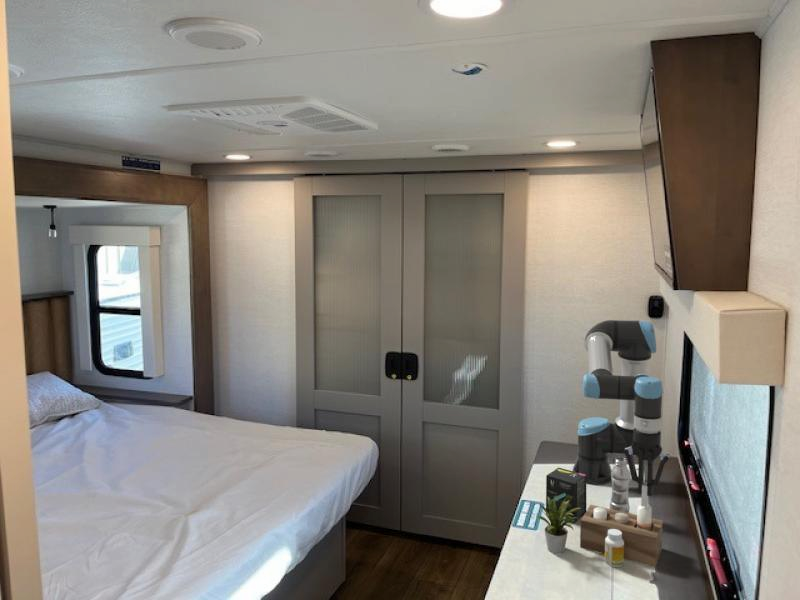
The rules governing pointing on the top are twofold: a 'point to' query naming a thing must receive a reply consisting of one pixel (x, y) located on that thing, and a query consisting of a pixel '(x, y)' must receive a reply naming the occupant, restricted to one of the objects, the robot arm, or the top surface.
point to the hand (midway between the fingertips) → (644, 504)
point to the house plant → (557, 526)
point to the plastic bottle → (620, 486)
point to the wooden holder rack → (636, 541)
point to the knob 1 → (600, 513)
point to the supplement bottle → (614, 548)
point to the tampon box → (567, 491)
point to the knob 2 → (644, 517)
